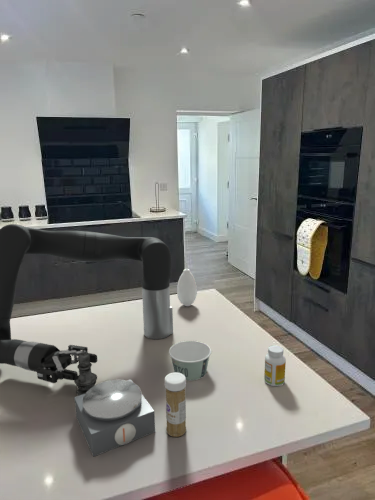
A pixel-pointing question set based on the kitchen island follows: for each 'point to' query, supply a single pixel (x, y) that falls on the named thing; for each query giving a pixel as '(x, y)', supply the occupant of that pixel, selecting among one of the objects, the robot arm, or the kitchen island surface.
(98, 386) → the scale pan
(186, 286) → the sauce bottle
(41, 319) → the kitchen island surface
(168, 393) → the sprinkles bottle
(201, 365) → the food container
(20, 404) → the kitchen island surface
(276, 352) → the supplement bottle
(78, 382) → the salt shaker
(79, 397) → the kitchen scale
